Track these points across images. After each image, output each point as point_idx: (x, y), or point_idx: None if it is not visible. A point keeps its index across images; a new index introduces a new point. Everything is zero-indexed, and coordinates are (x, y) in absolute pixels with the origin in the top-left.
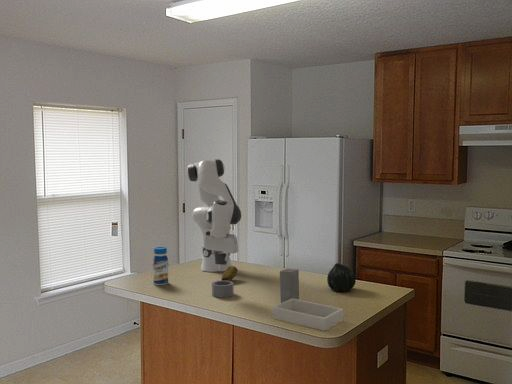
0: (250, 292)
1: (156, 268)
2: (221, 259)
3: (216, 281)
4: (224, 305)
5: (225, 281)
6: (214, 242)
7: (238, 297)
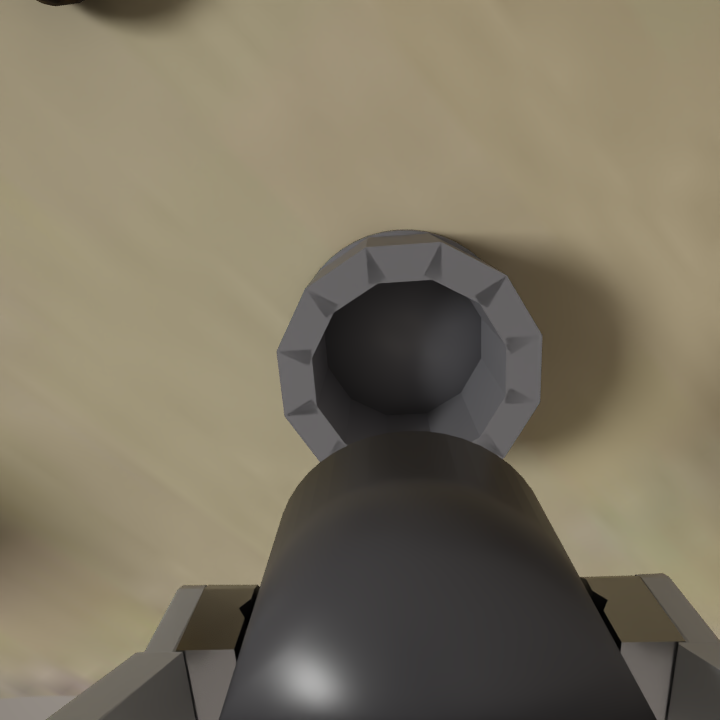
0: (583, 67)
1: None
2: None
3: (291, 369)
4: (625, 539)
5: (369, 288)
6: None
7: (586, 303)
